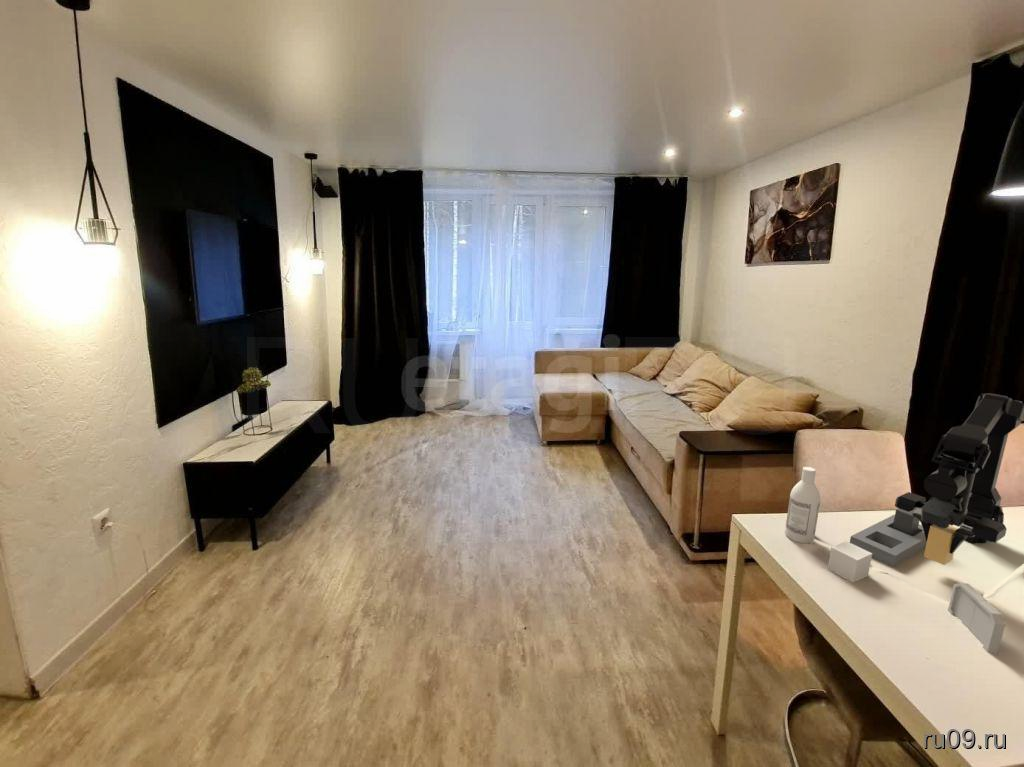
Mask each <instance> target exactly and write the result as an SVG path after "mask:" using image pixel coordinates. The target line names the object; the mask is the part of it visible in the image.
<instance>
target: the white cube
mask: <svg viewBox="0 0 1024 767" xmlns="http://www.w3.org/2000/svg"><path fill="white" fill-rule="evenodd" d="M872 558H873V557H872V553H870V552H868V551H866V550H864V549H862V548H860V547H858V546H855V545H853V544H851V543H850V541H847V540H845V541H843V542H840V543H838V544H836V545H834V546H833V545H832V547H830V554H829V559H828V566H827V569H828V570H829V571H830V572H832V573H835V574H837V575H839V576H840V577H843V578H844V579H846V580H848V581H850V582H852V583H856V582H858V581H860V580H861V579H863V578H866V577H868V576H869V574H870V567H871V562H872Z"/></svg>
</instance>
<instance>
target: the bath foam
mask: <svg viewBox="0 0 1024 767" xmlns="http://www.w3.org/2000/svg"><path fill="white" fill-rule="evenodd" d="M816 472H817V470H816V468H814V467H810V466H804V467H802V474H801V480H799V481H798V482H797V483H796V484H794V486H793V488H791V491H790V495H789V502H788V508H787V516H786V520H785V522H786V523H785V530H784V533H785V536H786V537H787V538H788V539H790V540H791V541H793V542H796V543H801V544H810V543H812V542H814V540H815V536H816V530H817V524H818V518H819V512H820V505H821V494H820V491H819V488H818V487H817V485H816V484H815V479H816V478H815V477H816Z"/></svg>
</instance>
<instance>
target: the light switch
mask: <svg viewBox="0 0 1024 767" xmlns="http://www.w3.org/2000/svg"><path fill="white" fill-rule="evenodd" d="M951 591H952V592H951V594H950V600H949V604H948V608H947V612H948V613H949V614H951V615H952V614H954V615H953V616H955V617H956V618H957V617H958V618H957V619H958V620H959V619H960V620H961V621H962V622H961V621H960V620H959V621H960V622H961V623H962V624H963V626H966V627H967V628H968V629H969V630H968V629H967V628H966V627H965V628H966V629H967V630H968V631H969V632H970V633H971V634H972V636H974V637H975V638H976V639H977V640H978V641H979V643H980V644H982V648H983V649H984V650H985V652H986V653H989V654H997V655H998V654H999V649H1000V646H1001V642H1002V640H1003V636H1004V632H1005V628H1006V622H1005V619H1004V617H1003V614H1002V613H1001V612H1000V611H999V610H998V609H996V608H995V607H994V606H993V605H992V604H991V603H990V602H989V601H988V600H987V599H986V598H985V596H983V595H981V594H980V593H979V592H978V591H977V590H976V589H975V588H974V587H973V586H972V585H971V584H969V583H966V582H965V583H964V582H957V583H954V584H953V586H952V590H951Z"/></svg>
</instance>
